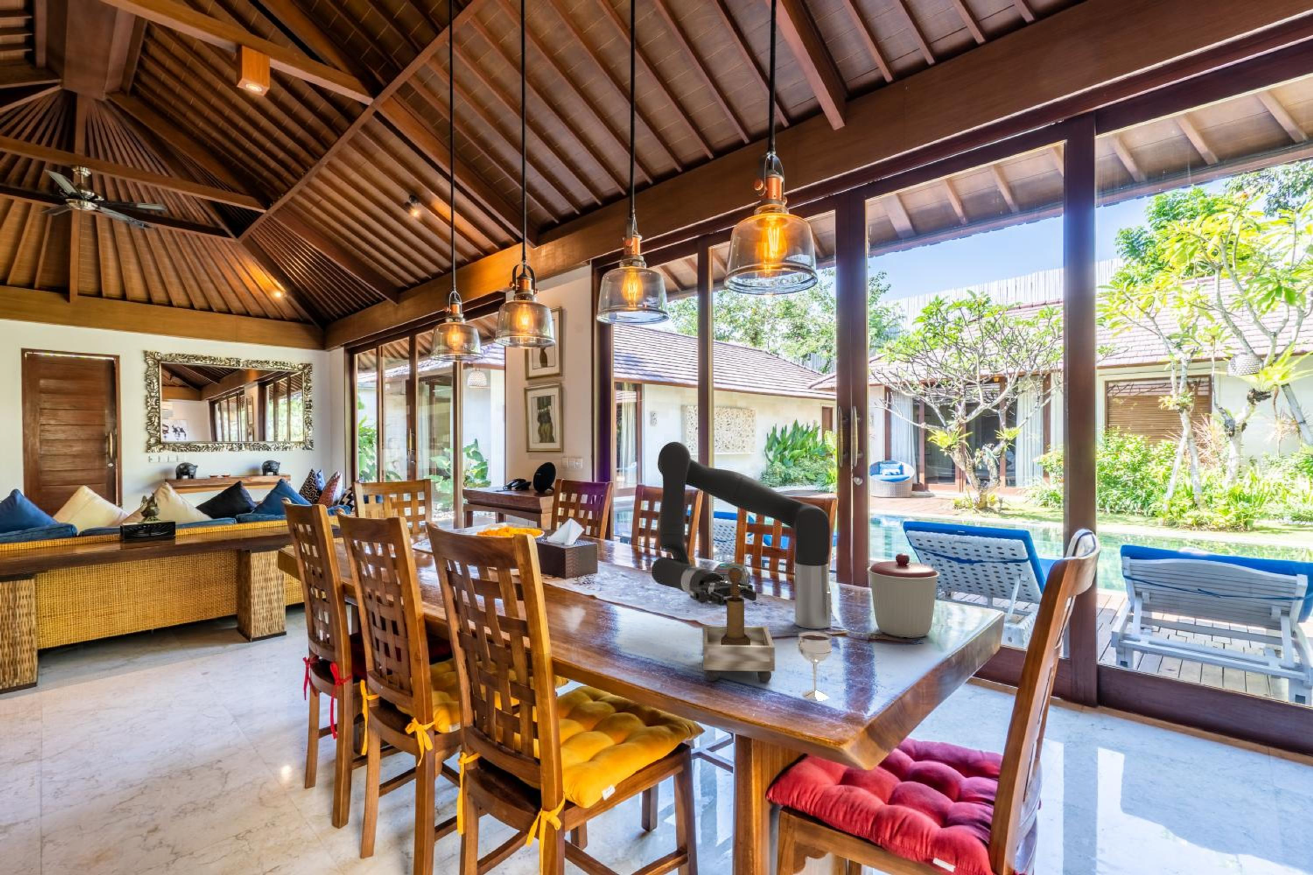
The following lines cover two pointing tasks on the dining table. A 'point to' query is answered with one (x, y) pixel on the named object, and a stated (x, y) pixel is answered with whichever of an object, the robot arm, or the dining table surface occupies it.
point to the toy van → (725, 567)
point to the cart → (738, 652)
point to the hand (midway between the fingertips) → (738, 598)
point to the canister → (903, 596)
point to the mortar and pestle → (735, 613)
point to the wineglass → (815, 655)
